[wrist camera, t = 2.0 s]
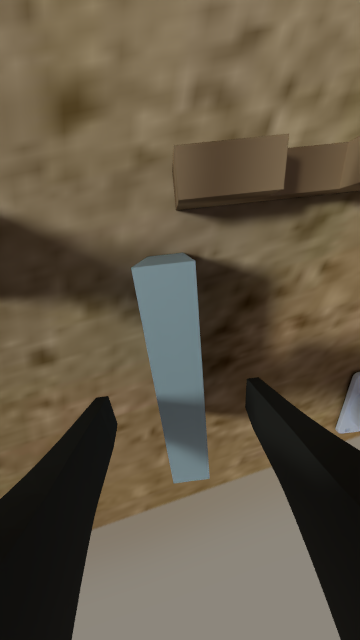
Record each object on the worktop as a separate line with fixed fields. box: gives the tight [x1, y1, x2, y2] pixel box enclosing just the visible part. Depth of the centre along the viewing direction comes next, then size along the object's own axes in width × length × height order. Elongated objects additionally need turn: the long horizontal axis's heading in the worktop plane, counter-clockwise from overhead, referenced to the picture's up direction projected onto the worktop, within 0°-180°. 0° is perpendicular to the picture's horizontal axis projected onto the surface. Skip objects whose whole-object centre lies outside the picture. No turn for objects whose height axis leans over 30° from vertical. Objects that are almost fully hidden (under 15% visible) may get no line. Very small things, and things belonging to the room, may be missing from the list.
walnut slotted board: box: [172, 134, 360, 210], centre depth 10 cm, size 14×2×3 cm, turn 96°
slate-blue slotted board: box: [131, 253, 209, 483], centre depth 12 cm, size 2×14×6 cm, turn 6°
